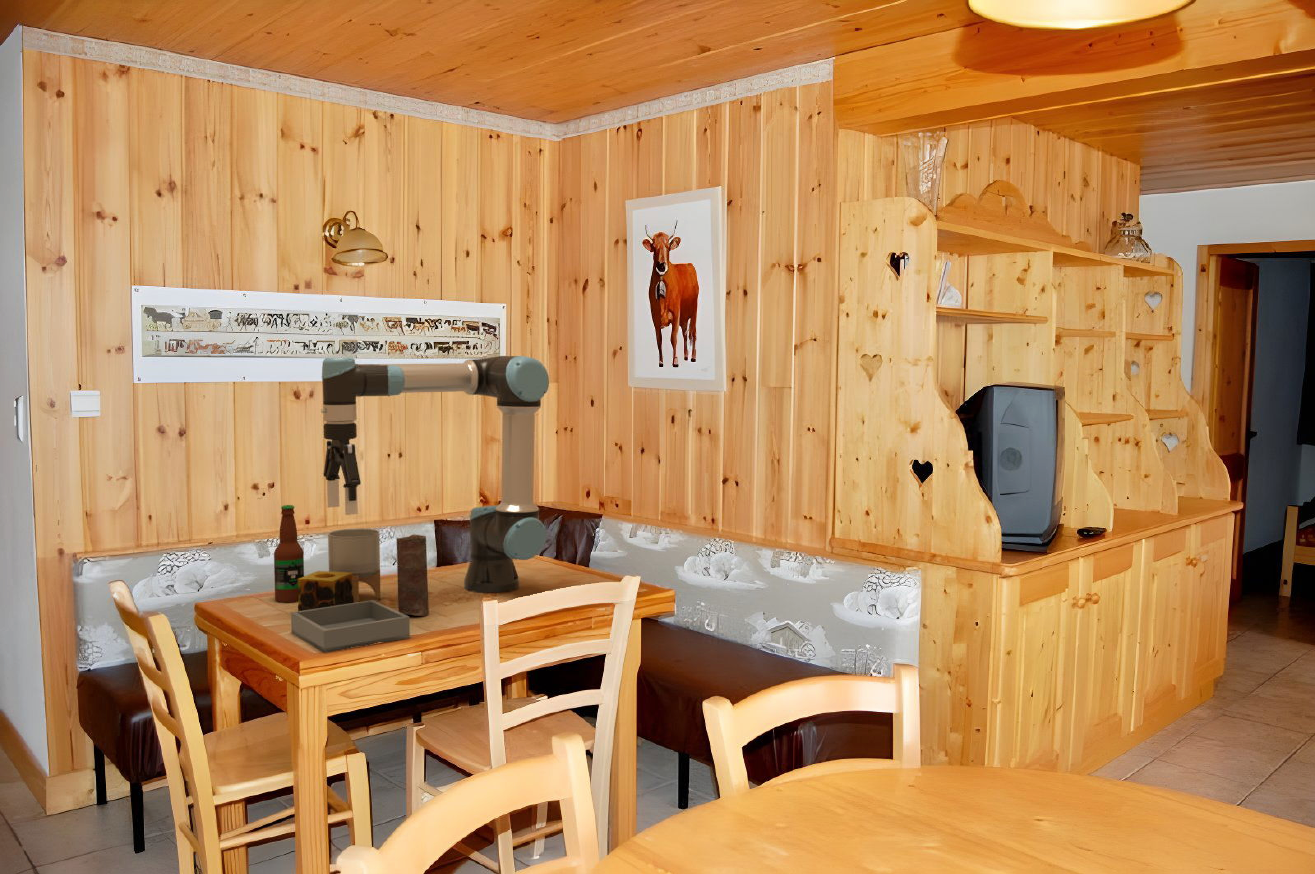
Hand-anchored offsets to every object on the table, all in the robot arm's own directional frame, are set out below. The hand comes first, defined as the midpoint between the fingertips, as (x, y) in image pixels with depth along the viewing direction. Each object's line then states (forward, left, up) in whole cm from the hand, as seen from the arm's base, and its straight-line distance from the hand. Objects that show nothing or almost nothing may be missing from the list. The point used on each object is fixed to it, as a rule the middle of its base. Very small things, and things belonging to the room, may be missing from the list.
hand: (342, 510), depth 252 cm
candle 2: (-16, +4, -27) cm, 32 cm away
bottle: (+3, -29, -27) cm, 40 cm away
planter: (-11, -20, -27) cm, 36 cm away
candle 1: (+1, -9, -27) cm, 29 cm away
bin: (+4, +13, -27) cm, 30 cm away
